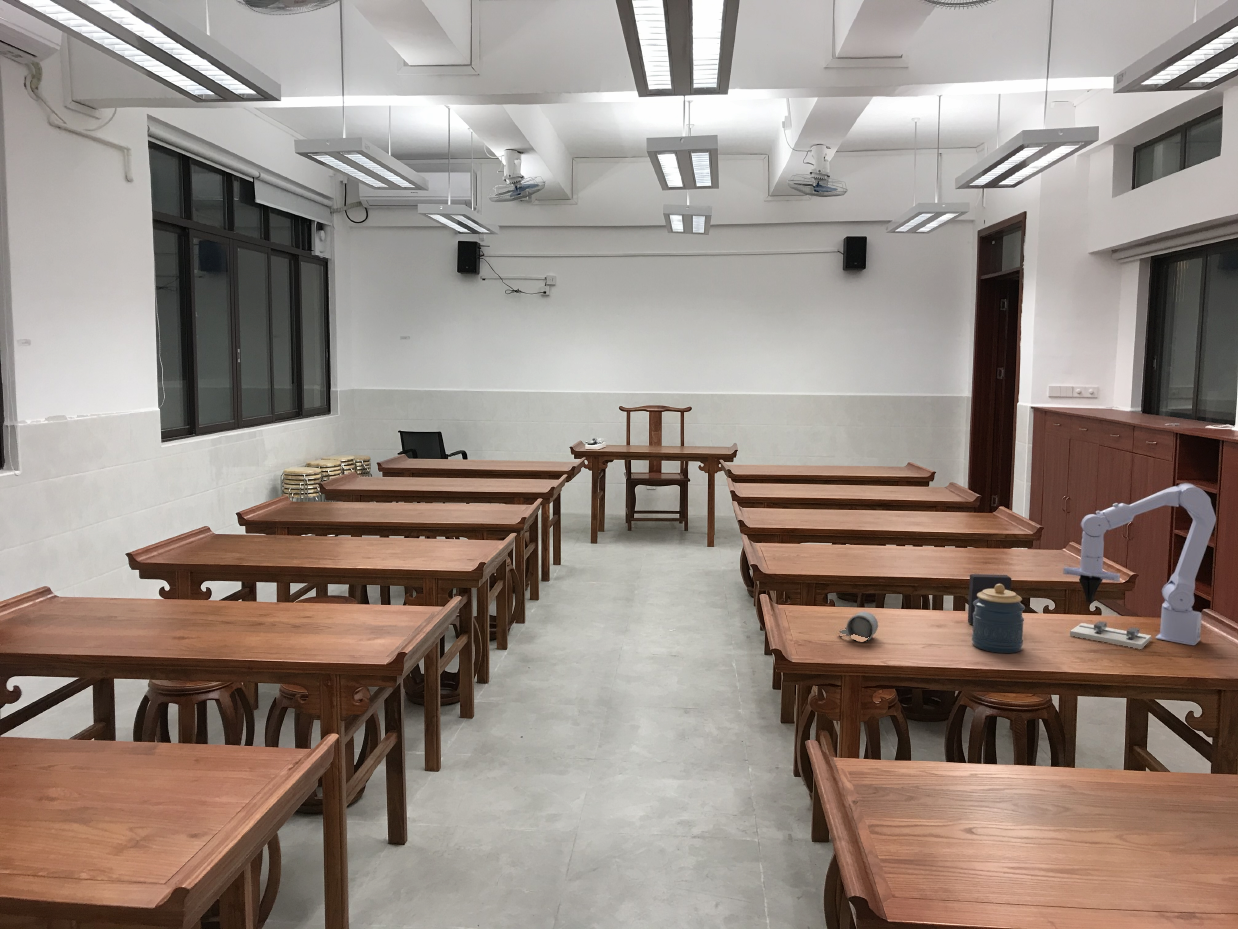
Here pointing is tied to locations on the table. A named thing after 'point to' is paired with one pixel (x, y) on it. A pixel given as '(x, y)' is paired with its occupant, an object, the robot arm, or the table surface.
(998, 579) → the calculator
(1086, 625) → the board
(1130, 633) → the fixed point
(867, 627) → the ceramic mug
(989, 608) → the canister
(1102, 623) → the block
